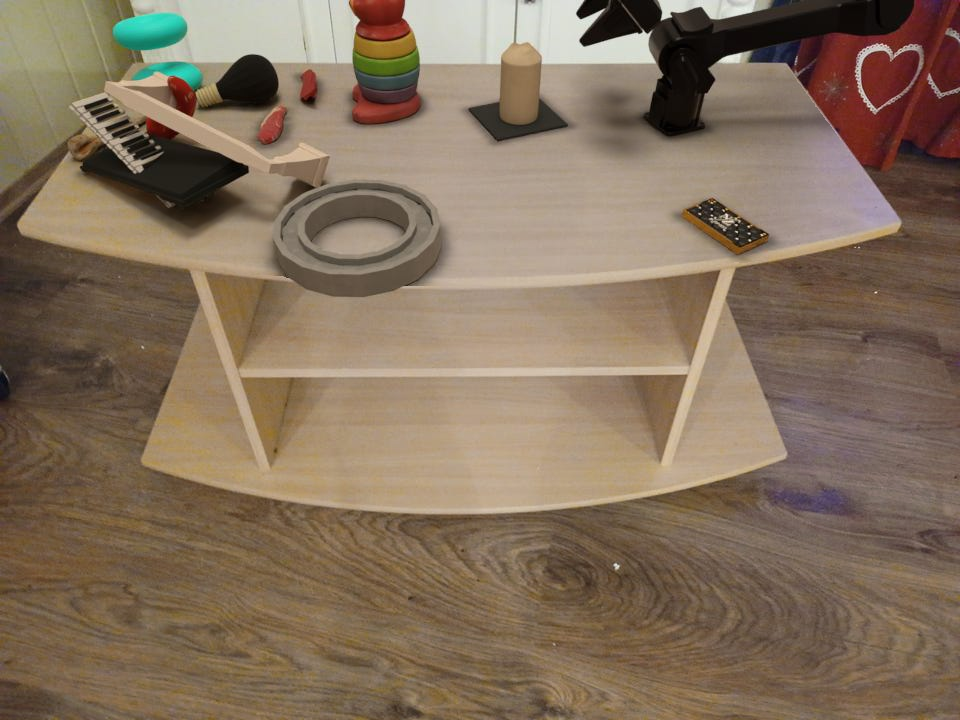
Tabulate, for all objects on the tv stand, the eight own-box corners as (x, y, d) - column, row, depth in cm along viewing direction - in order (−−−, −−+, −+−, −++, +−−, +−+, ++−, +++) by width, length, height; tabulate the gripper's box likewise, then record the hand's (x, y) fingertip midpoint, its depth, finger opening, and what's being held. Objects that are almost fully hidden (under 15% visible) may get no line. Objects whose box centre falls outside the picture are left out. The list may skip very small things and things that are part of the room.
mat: (535, 96, 110) (535, 94, 109) (567, 126, 103) (568, 124, 103) (468, 109, 106) (468, 107, 106) (497, 141, 100) (497, 139, 100)
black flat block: (683, 208, 87) (712, 196, 89) (681, 216, 88) (710, 204, 90) (740, 246, 82) (770, 233, 83) (737, 254, 82) (767, 241, 84)
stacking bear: (352, 90, 110) (337, -38, 98) (419, 88, 111) (413, -40, 99) (352, 125, 103) (336, -10, 90) (424, 122, 104) (418, -12, 91)
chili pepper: (306, 99, 104) (317, 108, 105) (325, 73, 104) (336, 82, 105) (288, 92, 114) (298, 100, 115) (306, 68, 113) (316, 76, 115)
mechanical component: (473, 252, 82) (473, 230, 80) (330, 320, 74) (326, 298, 72) (383, 184, 92) (381, 163, 90) (249, 238, 84) (243, 216, 81)
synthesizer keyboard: (180, 202, 80) (198, 262, 88) (248, 159, 85) (259, 220, 93) (53, 108, 85) (81, 174, 93) (125, 73, 90) (145, 138, 98)
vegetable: (128, 118, 97) (168, 65, 90) (168, 128, 101) (208, 78, 94) (133, 148, 96) (173, 97, 89) (173, 157, 100) (214, 108, 93)
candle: (491, 118, 104) (493, 47, 97) (512, 103, 107) (515, 34, 100) (525, 129, 102) (529, 57, 95) (544, 114, 105) (550, 43, 98)
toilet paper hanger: (89, 98, 86) (96, 62, 84) (151, 104, 95) (159, 72, 94) (273, 192, 82) (284, 155, 80) (319, 188, 91) (330, 155, 90)
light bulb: (180, 71, 101) (262, 43, 101) (194, 80, 108) (271, 53, 108) (200, 119, 103) (280, 91, 103) (212, 125, 109) (288, 98, 109)
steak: (274, 139, 98) (252, 140, 98) (275, 143, 98) (254, 144, 99) (291, 104, 105) (270, 105, 105) (292, 108, 105) (271, 109, 105)
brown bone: (159, 89, 104) (176, 98, 104) (161, 106, 106) (177, 114, 106) (62, 138, 93) (80, 148, 93) (66, 156, 95) (84, 166, 95)
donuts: (192, 78, 114) (127, 93, 109) (171, 8, 108) (101, 21, 103) (214, 89, 107) (146, 106, 102) (193, 15, 101) (119, 30, 97)
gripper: (634, -137, 90) (538, -42, 98) (651, -97, 77) (539, 9, 85) (684, -64, 96) (590, 20, 104) (709, -15, 82) (598, 77, 91)
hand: (579, 29), depth 96 cm, fingers open, 9 cm apart
